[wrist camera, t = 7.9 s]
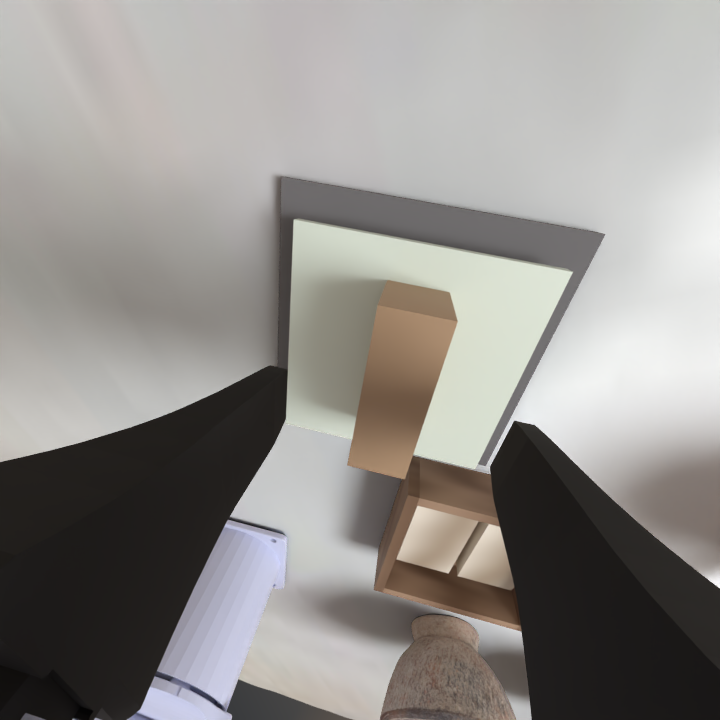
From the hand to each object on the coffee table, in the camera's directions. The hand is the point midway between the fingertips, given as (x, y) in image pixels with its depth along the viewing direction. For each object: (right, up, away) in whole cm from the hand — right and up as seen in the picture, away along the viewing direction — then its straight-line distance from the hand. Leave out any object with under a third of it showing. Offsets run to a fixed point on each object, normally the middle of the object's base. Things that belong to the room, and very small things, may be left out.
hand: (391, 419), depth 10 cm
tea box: (+6, -9, +11) cm, 15 cm away
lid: (+1, +2, +4) cm, 5 cm away
